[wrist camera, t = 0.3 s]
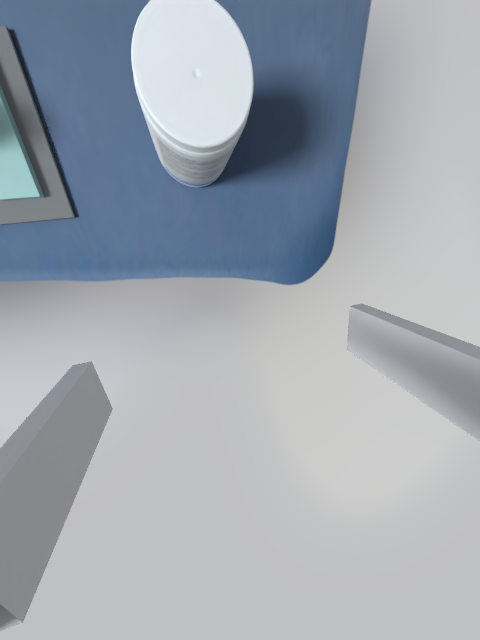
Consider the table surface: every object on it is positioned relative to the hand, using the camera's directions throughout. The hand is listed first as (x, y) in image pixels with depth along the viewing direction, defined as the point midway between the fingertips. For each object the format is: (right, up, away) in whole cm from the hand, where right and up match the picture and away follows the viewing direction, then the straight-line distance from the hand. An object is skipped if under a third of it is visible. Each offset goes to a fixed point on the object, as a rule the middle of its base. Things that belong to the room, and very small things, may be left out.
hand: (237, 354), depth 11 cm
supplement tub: (-7, +25, +19) cm, 32 cm away
